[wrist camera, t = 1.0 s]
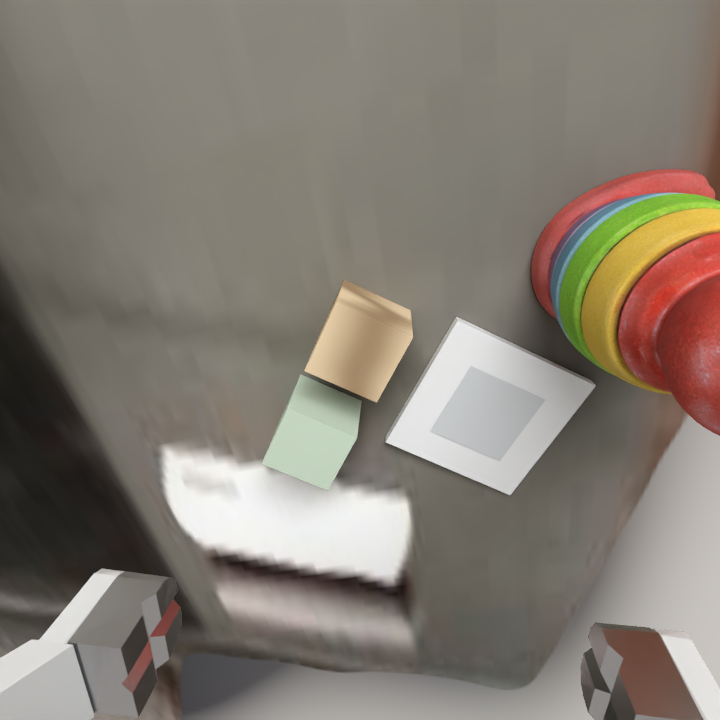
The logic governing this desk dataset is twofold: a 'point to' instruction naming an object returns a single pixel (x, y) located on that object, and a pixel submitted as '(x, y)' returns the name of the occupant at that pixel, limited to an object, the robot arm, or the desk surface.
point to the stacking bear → (641, 284)
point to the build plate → (487, 407)
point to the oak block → (361, 342)
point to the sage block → (314, 433)
